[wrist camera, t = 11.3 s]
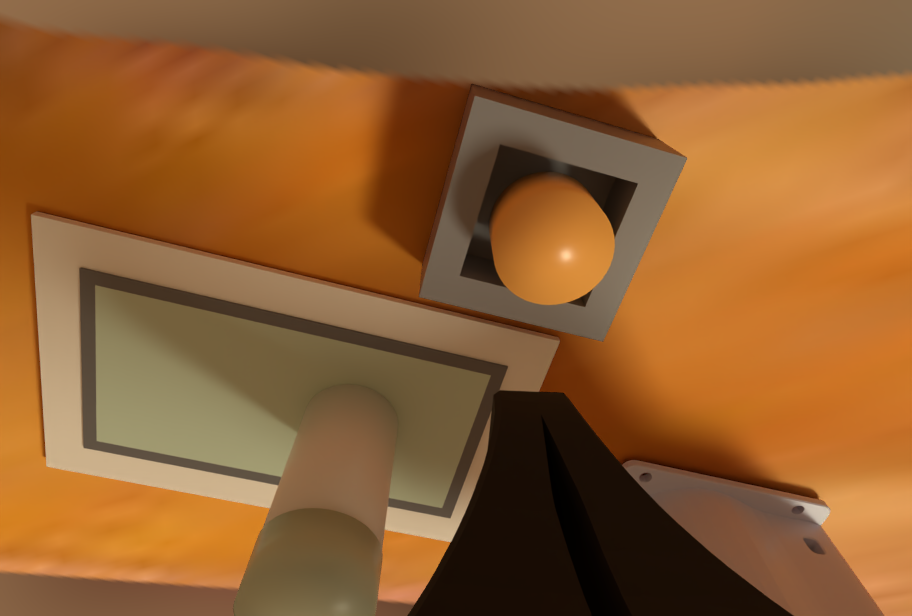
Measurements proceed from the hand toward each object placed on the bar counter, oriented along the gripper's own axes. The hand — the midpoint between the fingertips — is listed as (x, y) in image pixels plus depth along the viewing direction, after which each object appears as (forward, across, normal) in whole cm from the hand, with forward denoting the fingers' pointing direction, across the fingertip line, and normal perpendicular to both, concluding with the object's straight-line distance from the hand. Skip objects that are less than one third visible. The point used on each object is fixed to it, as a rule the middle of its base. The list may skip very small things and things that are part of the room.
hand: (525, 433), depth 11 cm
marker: (+9, +5, +7) cm, 13 cm away
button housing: (+9, -1, -2) cm, 10 cm away
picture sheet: (+9, +7, +7) cm, 14 cm away
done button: (+7, -1, -2) cm, 8 cm away
